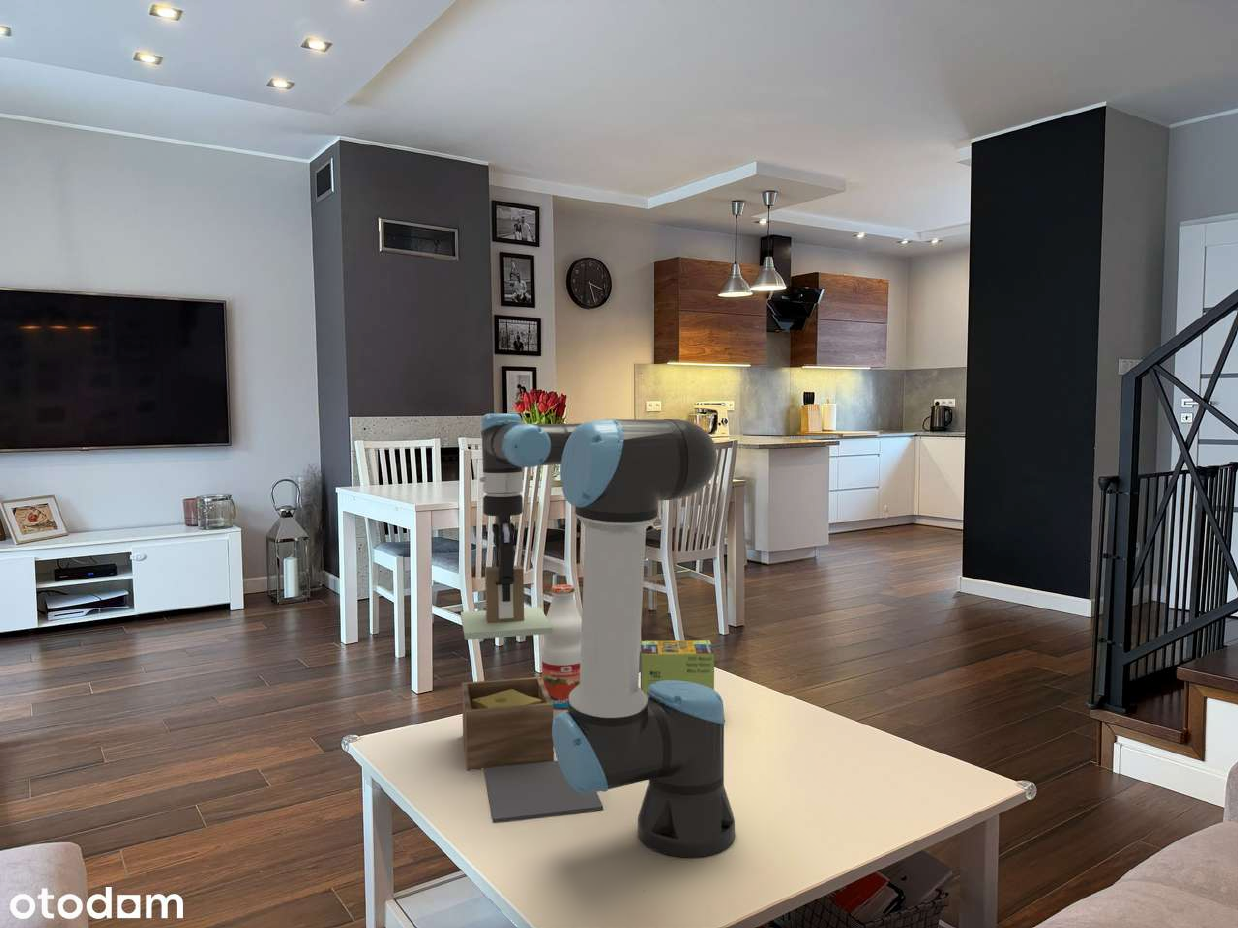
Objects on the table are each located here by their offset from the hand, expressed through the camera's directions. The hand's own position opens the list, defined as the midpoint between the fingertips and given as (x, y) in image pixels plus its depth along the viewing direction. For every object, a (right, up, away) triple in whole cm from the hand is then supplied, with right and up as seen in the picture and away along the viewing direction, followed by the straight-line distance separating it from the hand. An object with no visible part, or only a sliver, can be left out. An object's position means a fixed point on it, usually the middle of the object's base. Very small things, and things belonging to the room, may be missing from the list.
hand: (504, 614), depth 164 cm
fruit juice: (+10, -25, +21) cm, 34 cm away
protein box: (+34, -25, +18) cm, 46 cm away
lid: (0, -2, 0) cm, 2 cm away
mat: (+8, -28, -16) cm, 33 cm away
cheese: (0, -27, +2) cm, 27 cm away
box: (0, -26, +2) cm, 27 cm away
